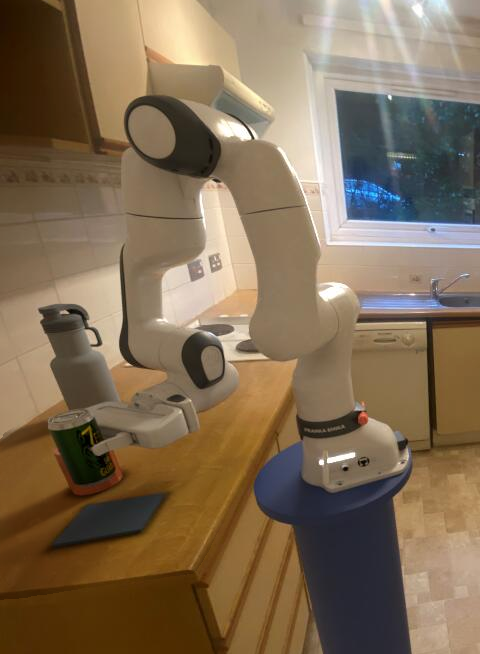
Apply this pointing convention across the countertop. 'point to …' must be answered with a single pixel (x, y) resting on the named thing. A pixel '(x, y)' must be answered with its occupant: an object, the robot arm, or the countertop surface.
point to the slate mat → (110, 519)
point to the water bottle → (77, 357)
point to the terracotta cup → (93, 489)
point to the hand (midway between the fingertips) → (76, 448)
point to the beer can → (80, 447)
